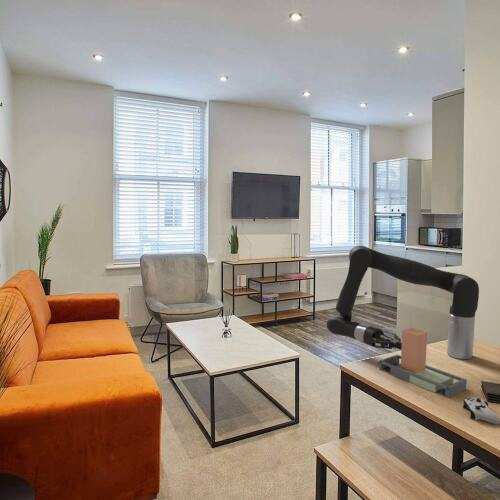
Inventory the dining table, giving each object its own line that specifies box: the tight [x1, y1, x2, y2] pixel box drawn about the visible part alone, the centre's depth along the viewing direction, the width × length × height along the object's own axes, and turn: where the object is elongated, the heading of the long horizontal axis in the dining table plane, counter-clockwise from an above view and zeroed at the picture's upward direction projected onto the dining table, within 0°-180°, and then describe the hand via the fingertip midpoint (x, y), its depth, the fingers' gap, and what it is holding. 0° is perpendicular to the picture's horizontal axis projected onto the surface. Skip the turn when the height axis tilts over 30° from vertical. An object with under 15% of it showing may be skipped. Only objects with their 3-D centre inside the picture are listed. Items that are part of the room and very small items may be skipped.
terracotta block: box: [400, 327, 428, 374], centre depth 144 cm, size 6×6×14 cm
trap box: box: [378, 354, 468, 399], centre depth 142 cm, size 11×27×3 cm, turn 34°
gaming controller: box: [462, 397, 500, 425], centre depth 118 cm, size 11×6×7 cm
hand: (406, 347), depth 146 cm, fingers closed
